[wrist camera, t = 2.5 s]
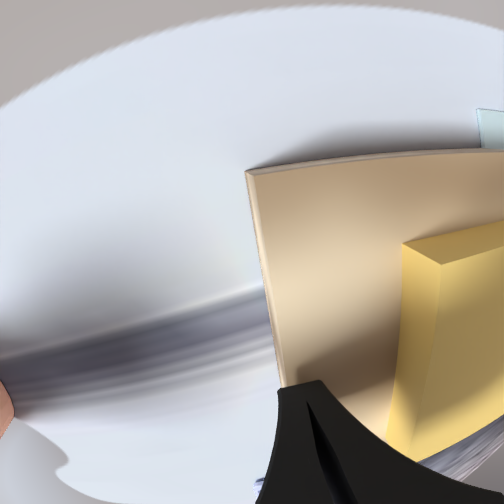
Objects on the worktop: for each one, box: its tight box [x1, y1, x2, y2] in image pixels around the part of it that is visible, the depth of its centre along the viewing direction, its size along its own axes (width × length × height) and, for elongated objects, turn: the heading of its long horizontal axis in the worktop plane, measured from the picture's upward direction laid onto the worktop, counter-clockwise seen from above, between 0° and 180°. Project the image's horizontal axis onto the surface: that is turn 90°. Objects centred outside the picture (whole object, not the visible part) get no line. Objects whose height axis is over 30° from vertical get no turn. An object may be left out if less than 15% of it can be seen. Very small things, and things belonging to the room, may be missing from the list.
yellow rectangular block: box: [385, 220, 504, 462], centre depth 9 cm, size 9×6×2 cm, turn 10°
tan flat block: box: [244, 148, 504, 445], centre depth 12 cm, size 14×12×4 cm
